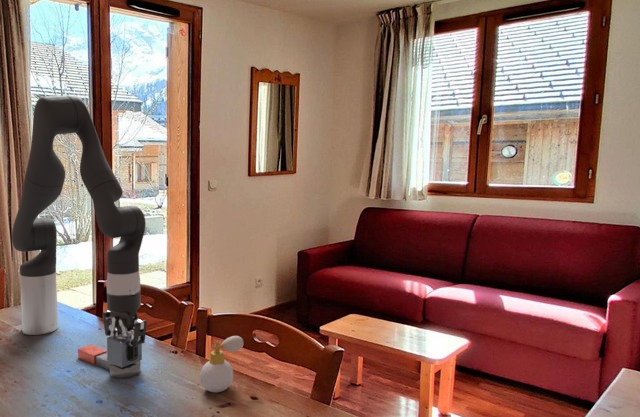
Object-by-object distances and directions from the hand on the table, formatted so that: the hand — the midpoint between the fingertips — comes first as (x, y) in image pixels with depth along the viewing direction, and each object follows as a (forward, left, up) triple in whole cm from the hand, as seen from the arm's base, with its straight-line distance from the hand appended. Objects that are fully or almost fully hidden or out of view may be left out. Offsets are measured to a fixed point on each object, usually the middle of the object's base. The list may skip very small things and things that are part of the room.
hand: (124, 356), depth 124 cm
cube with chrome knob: (0, 0, -1) cm, 1 cm away
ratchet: (-7, 0, -4) cm, 8 cm away
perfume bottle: (+24, +8, -4) cm, 26 cm away
